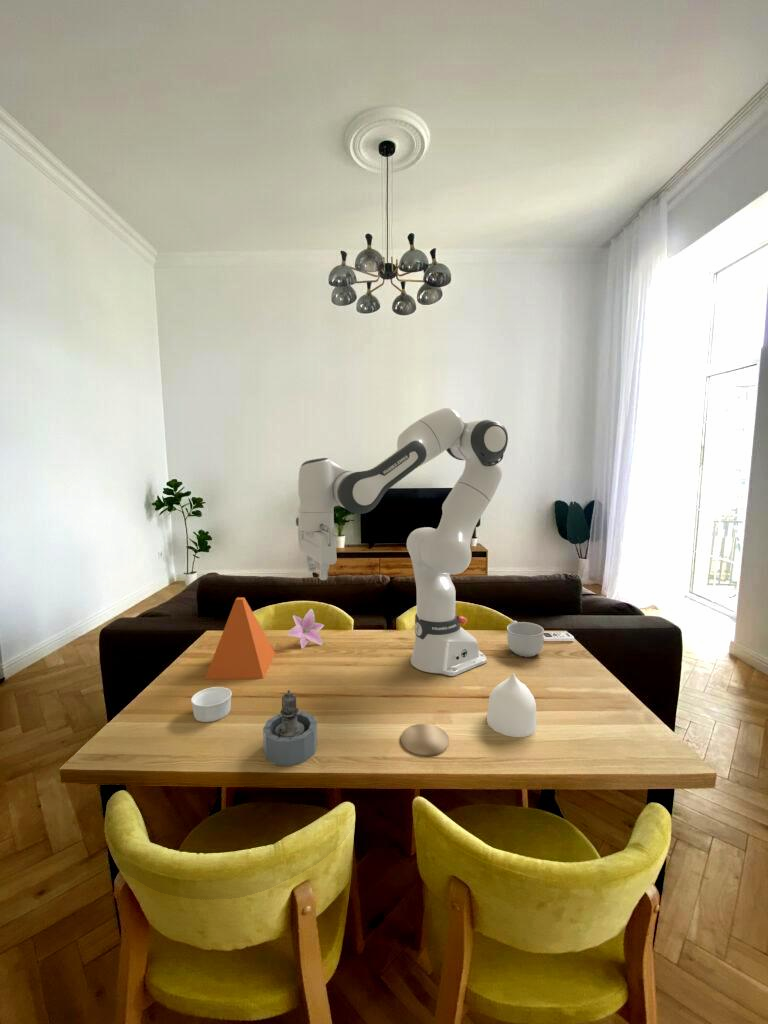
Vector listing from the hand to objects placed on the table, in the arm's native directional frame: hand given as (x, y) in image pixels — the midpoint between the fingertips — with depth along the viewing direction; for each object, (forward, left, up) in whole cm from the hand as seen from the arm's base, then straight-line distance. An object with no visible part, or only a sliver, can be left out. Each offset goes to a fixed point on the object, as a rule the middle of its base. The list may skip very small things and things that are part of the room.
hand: (317, 575), depth 116 cm
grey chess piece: (+14, +24, -29) cm, 40 cm away
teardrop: (-33, +37, -29) cm, 58 cm away
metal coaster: (-12, +34, -29) cm, 46 cm away
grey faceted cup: (+14, +24, -29) cm, 40 cm away
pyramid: (+17, -19, -30) cm, 39 cm away
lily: (-5, -26, -29) cm, 40 cm away
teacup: (-63, +9, -29) cm, 70 cm away
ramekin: (+27, +3, -29) cm, 40 cm away
